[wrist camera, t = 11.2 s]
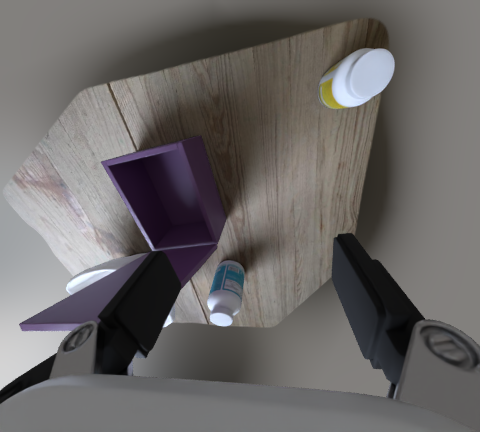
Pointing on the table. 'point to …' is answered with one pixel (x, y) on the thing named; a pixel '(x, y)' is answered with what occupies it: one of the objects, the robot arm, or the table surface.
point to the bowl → (102, 271)
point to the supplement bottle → (356, 78)
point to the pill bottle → (226, 292)
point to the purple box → (170, 194)
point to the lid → (111, 291)
